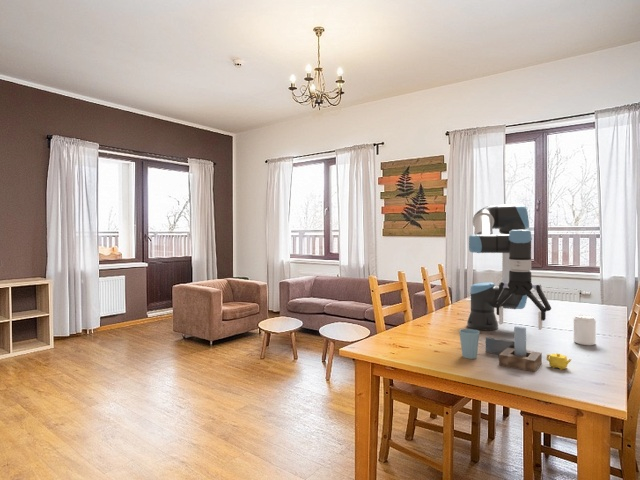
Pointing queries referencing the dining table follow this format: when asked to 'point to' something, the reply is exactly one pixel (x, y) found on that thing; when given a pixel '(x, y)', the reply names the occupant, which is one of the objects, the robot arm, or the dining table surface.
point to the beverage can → (584, 330)
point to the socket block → (520, 360)
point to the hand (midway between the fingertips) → (520, 326)
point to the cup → (469, 343)
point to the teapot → (558, 361)
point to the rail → (497, 345)
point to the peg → (520, 341)
